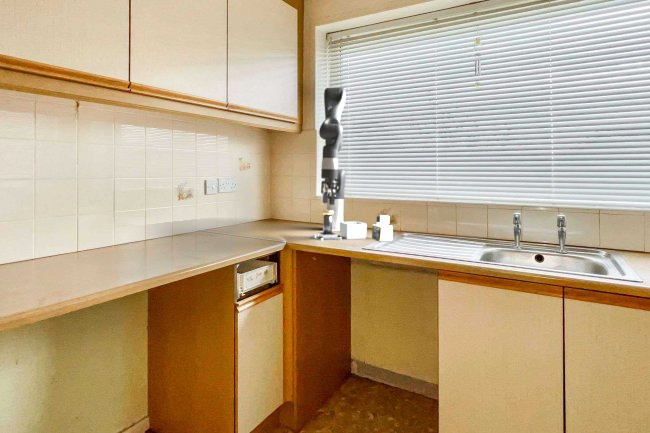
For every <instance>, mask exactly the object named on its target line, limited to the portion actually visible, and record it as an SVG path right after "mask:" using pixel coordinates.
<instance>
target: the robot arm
mask: <svg viewBox="0 0 650 433" xmlns="http://www.w3.org/2000/svg"><path fill="white" fill-rule="evenodd" d="M323 101H324V102H323V104H324V105H323V106H324V115H325V116H324V118H325V119H324V121H323V122H322V123H321V125H320V127H319V131H318V135H319V137H320V138H321V139H322V140H324V141H325V143H324V144H325V145H323V147H322V160H321V175H320V176H321V179H322V181H321V188H320V193H321V194H322V203H323V204H326V210H330V211H333V215H332V232H333V231H334V232H335V231H336V232H338V231H340V222H344V210H345V189H346V188H345V186H346V171H345V170H344V169H339V153H340V151H341V149H342V147H343V145H344V144H343V142H344V141H343V140H344V138H343V137H344V128H343V126H342V125H341V118H342V117H341V116H342V114H343V111H344V109H345V105H346V103H347V102H346V101H347V93H346V89H345V88H344V87H326V88H325V89H324V93H323ZM323 179H324V180H323Z"/></svg>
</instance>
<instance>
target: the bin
mask: <svg viewBox="0 0 650 433" xmlns="http://www.w3.org/2000/svg"><path fill="white" fill-rule="evenodd" d="M367 230H368V225H367V223H365V222H361V221H343V222H340V231H339V234H338V235H339V236H338V237H340V238H342V239H346V240H358V239H359V240H361V239H367Z"/></svg>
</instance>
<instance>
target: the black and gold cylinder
mask: <svg viewBox="0 0 650 433" xmlns="http://www.w3.org/2000/svg"><path fill="white" fill-rule="evenodd" d="M322 215H323V224H322V225H323V227H322V230H323V231H322V232H323V234H324V235H331V234H332V232H333V231H332V215H333V211H330V210H327V209H325V210H322Z"/></svg>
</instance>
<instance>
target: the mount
mask: <svg viewBox="0 0 650 433" xmlns="http://www.w3.org/2000/svg"><path fill="white" fill-rule="evenodd" d="M316 234H317V235H316ZM316 234H313V235H312V236H311V237H312V238H314V239H315V240H318V241H320V242H321V241H345V238H343V237H340V236H338V235H339V234H337V233H335V232H333V231H332V234H331V235H324V234H323V231H322V232H319V231H318V232H317V233H316Z"/></svg>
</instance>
